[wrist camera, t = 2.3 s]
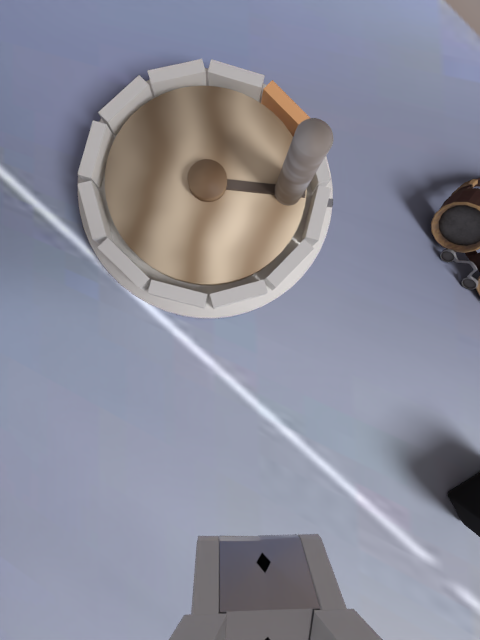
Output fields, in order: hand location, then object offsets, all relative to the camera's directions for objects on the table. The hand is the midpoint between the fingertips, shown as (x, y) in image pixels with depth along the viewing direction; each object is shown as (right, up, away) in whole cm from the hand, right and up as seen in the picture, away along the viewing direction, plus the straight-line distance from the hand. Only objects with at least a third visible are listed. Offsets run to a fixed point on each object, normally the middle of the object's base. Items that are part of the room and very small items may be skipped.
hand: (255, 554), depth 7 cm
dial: (-4, +20, +26) cm, 33 cm away
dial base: (-4, +20, +27) cm, 34 cm away
